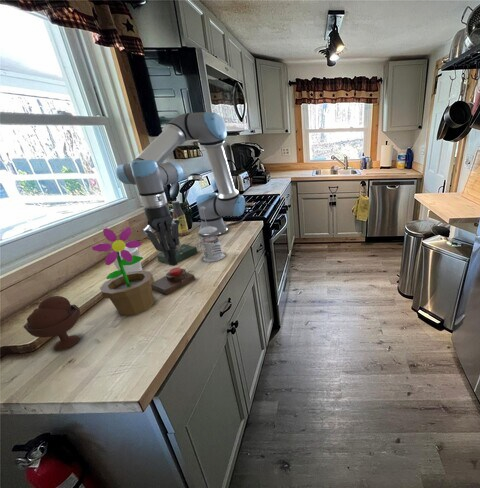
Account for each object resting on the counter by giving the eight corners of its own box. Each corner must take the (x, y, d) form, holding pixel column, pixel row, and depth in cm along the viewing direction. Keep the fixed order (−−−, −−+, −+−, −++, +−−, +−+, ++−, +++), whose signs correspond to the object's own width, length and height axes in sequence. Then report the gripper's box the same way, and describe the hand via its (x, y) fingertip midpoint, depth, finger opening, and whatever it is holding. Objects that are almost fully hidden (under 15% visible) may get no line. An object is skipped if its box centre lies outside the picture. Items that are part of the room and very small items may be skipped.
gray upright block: (167, 252, 124) (163, 238, 121) (170, 250, 126) (166, 236, 123) (179, 253, 122) (175, 238, 119) (182, 251, 124) (178, 237, 121)
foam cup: (152, 275, 109) (143, 247, 104) (131, 286, 101) (120, 257, 96) (136, 272, 112) (126, 245, 107) (115, 283, 104) (103, 254, 99)
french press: (229, 254, 126) (219, 204, 116) (210, 265, 117) (197, 211, 107) (214, 251, 130) (203, 202, 120) (195, 261, 120) (181, 209, 110)
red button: (177, 270, 105) (176, 266, 105) (184, 272, 103) (182, 268, 103) (168, 274, 102) (167, 271, 101) (174, 277, 100) (173, 273, 100)
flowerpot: (124, 325, 81) (86, 236, 69) (103, 312, 87) (64, 228, 75) (169, 300, 92) (142, 220, 80) (146, 290, 99) (119, 215, 87)
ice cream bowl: (62, 331, 79) (39, 290, 73) (100, 328, 80) (81, 287, 74) (29, 359, 69) (-1, 314, 63) (73, 356, 70) (47, 311, 64)
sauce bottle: (184, 236, 151) (175, 203, 143) (175, 236, 152) (165, 203, 144) (191, 232, 157) (183, 200, 149) (182, 232, 158) (174, 200, 150)
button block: (179, 274, 110) (177, 266, 108) (195, 279, 105) (193, 270, 104) (151, 288, 100) (148, 279, 98) (167, 294, 96) (164, 285, 94)
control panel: (184, 249, 134) (182, 243, 133) (198, 252, 129) (196, 247, 128) (157, 260, 123) (155, 254, 121) (171, 264, 118) (169, 258, 117)
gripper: (142, 211, 85) (162, 274, 94) (179, 202, 95) (194, 259, 105) (130, 209, 88) (150, 270, 97) (167, 200, 99) (182, 256, 108)
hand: (173, 264), depth 101 cm, fingers closed
